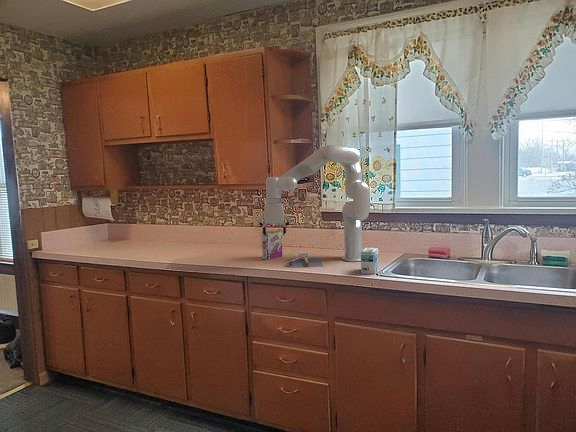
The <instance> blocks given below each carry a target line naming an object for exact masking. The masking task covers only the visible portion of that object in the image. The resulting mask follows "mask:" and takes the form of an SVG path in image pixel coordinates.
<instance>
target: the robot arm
mask: <svg viewBox="0 0 576 432" xmlns="http://www.w3.org/2000/svg"><path fill="white" fill-rule="evenodd" d="M360 159H361V153H360V151H359V150H358V149H356V148H355V147H351V146H341V145H335V144H329V145H328V144H327V145H323V146H321V147H320V148H318V149H317V150H315V151H314V152H313V153H312V154H311V155H309V156H308V157H307V158H304V160H302V161H301V162H299V163H298V164H296V165H295V166H293V167H291V168H290V169H289V170H288V171H286V172H284V173H283V174H282V175H281V176H280V177H278V176H269V177H266V179H265V196H266V197H265V199H266V200H265V202H266V203H265V204H264V208H263V210H264V211H263V215H262V216H260V217H258V218H257V222H258V224H259V225H260V226H261V228H262V231H263V234H264V236H265V235H266V230H267V229H266V226H267V225H278V224H280V225H282V226H283V227H282V230H283V231H282V234H283V235H282V236H285V235H286V234H287V227H288V226H289V224H290V223H291V221H292V217H289V216H287V215H285V211H284V204H283V203H282V202H285V199H284V198H282V191H284V192H292V191H294V190H295V189H296V188H297V186H298V181H300V180H301V179H303V178H306V177H310V176H312V175H315V173H316V172H318V171H319V170H320V169H322V168H323V167H324V166H326V165H327V164H328V163H329V162H333V163H339V164H340V165H341V166H342V167H343V169H344V172H345V189H344V190H345V191H344V192H345V196H346V197H347V198H348V199H350V200H351V201H348V202H346V203H345V204H344V205H343V207H342V210H341V212H342V220H343V227H344V228H343V234H344V235H343V236H344V237H343V238H344V256H341V259H342V261H344V262H353V263H355V262H361V251H362V250H363V226H362V221H365V220H366V219H367V218H368V217H369V214H370V209H371V188H370V186H369V185H368V184H367V183H366V182H364V181H363V178H362V177H363V174H362V172H363V171H362V167H361V164H360V162H359V161H360ZM285 219H286V220H287V221H286V223H285ZM262 220H263V221H264V222H263V223H262Z"/></svg>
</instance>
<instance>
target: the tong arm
mask: <svg viewBox="0 0 576 432" xmlns="http://www.w3.org/2000/svg"><path fill="white" fill-rule="evenodd" d="M293 259H294V260H292V261H289V262H286V267H289V266H292V265H294V264H296V263H298V262H300V261H302V256H301V257H299V256H298V257H296V259H295V258H293Z"/></svg>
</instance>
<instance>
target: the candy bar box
mask: <svg viewBox="0 0 576 432" xmlns="http://www.w3.org/2000/svg"><path fill="white" fill-rule="evenodd" d="M282 230H283V229H279V228H272V229H266V235H265V236H264V234H263V230H262V231H261V249H262V252H261V254H262V260H264V261H268V260H273V259H277V258H282V257H283V235H282V234H283V231H282Z"/></svg>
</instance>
